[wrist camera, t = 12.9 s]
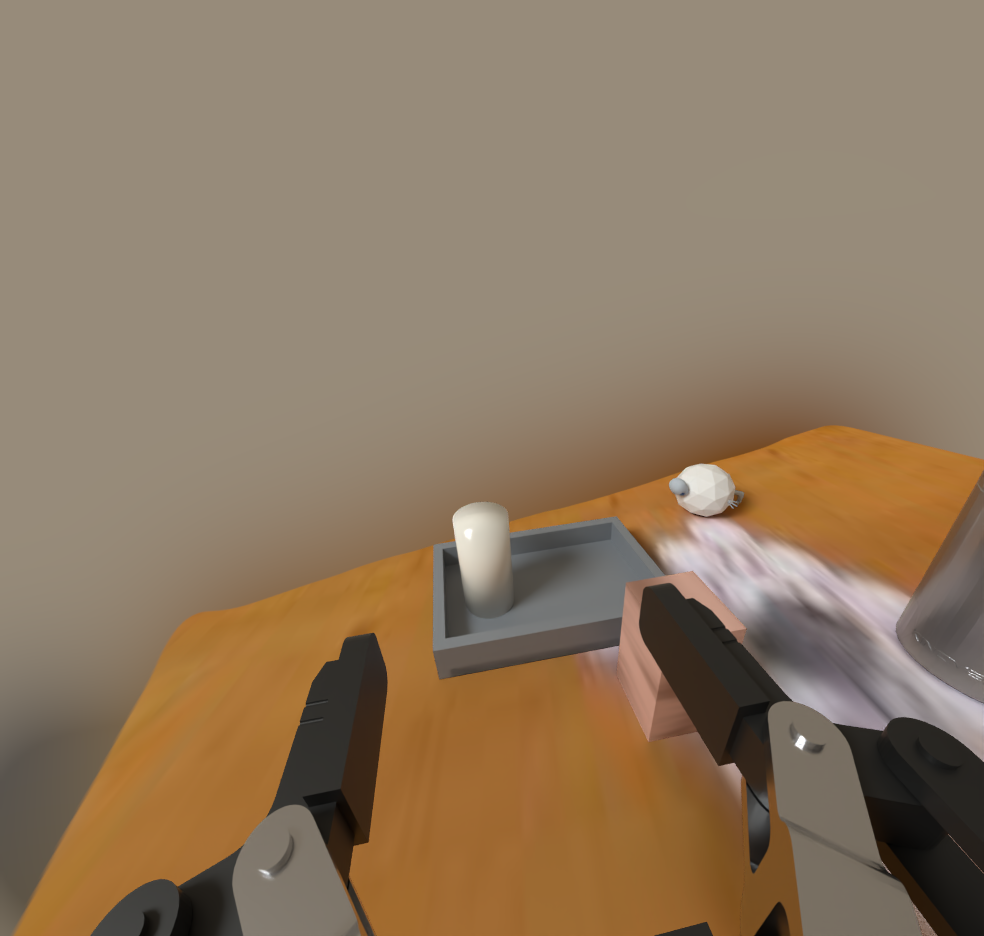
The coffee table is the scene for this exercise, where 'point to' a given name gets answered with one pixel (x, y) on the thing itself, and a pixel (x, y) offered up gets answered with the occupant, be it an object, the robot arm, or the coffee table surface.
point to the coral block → (639, 668)
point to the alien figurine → (705, 490)
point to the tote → (540, 598)
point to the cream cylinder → (485, 558)
